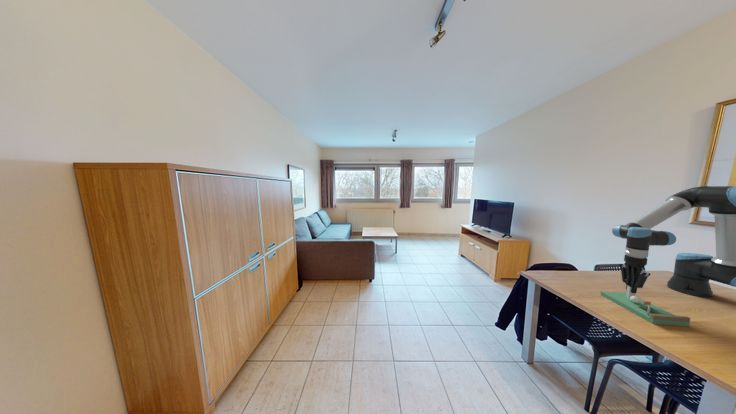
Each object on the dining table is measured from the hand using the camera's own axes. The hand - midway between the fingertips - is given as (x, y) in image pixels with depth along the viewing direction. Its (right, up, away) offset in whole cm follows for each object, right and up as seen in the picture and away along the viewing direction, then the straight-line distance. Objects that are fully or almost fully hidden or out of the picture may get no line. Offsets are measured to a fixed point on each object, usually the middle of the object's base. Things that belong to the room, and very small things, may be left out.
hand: (630, 297), depth 113 cm
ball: (0, 0, -3) cm, 3 cm away
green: (0, -4, -4) cm, 6 cm away
